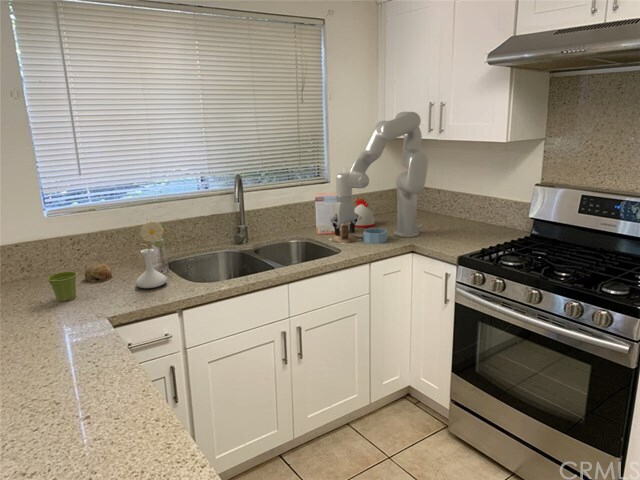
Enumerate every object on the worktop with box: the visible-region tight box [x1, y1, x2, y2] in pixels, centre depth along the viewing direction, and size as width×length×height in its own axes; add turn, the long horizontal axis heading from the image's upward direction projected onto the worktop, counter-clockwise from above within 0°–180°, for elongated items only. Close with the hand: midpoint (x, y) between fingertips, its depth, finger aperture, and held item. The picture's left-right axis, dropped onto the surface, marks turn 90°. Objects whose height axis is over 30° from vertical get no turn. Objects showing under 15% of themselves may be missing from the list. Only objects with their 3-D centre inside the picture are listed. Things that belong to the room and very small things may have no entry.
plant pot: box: [47, 271, 78, 302], centre depth 170 cm, size 9×9×9 cm
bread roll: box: [84, 262, 113, 283], centre depth 191 cm, size 10×10×8 cm
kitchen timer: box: [349, 197, 376, 229], centre depth 261 cm, size 14×14×15 cm
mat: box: [328, 237, 363, 245], centre depth 235 cm, size 12×12×1 cm
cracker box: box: [314, 192, 345, 236], centre depth 245 cm, size 14×6×21 cm, turn 84°
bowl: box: [363, 227, 388, 244], centre depth 231 cm, size 11×11×5 cm
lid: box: [331, 224, 359, 244], centre depth 234 cm, size 13×13×7 cm
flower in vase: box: [135, 220, 168, 289], centre depth 178 cm, size 13×11×25 cm
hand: (344, 233), depth 234 cm, fingers open, 8 cm apart
